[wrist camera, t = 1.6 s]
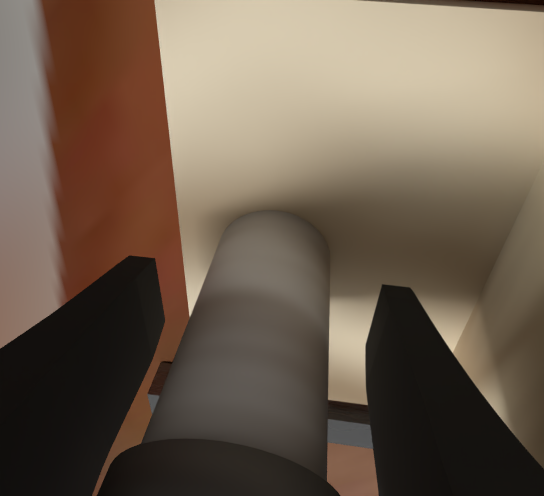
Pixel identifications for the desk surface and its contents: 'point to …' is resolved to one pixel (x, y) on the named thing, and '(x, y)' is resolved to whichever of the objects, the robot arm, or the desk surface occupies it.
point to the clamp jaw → (341, 222)
